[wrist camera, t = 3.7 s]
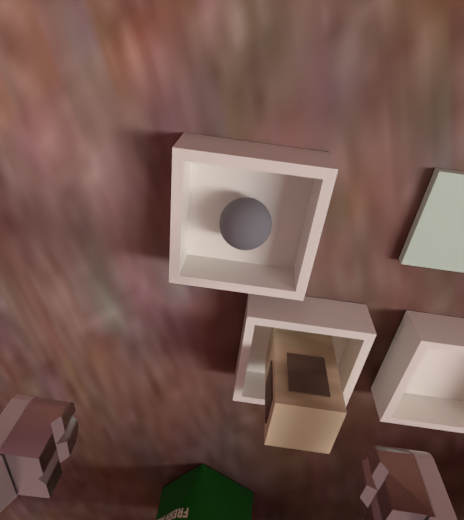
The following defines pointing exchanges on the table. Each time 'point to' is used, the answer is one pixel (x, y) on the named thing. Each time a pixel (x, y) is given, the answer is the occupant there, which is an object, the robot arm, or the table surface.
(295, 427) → the tan tall block
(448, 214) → the pad
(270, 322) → the white square cubby
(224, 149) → the white square open box
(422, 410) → the white open square tray
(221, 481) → the milk carton
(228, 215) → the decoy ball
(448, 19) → the table surface
